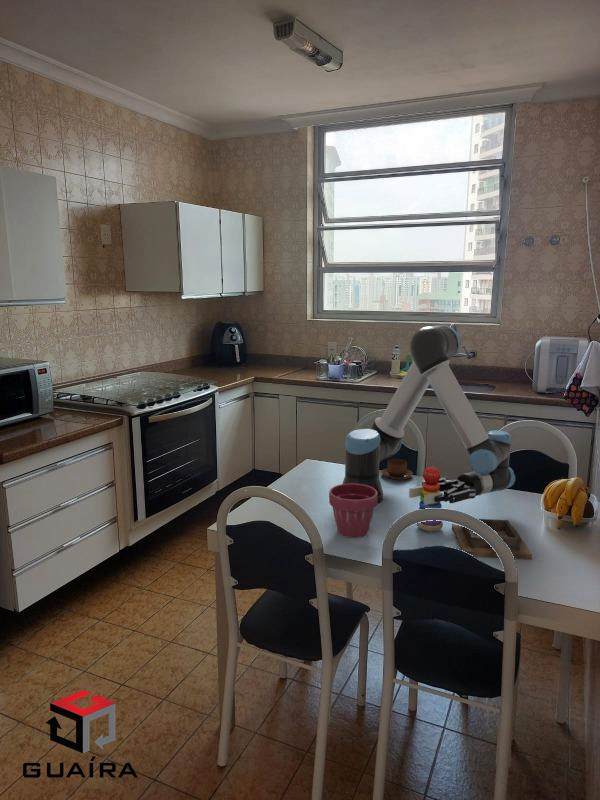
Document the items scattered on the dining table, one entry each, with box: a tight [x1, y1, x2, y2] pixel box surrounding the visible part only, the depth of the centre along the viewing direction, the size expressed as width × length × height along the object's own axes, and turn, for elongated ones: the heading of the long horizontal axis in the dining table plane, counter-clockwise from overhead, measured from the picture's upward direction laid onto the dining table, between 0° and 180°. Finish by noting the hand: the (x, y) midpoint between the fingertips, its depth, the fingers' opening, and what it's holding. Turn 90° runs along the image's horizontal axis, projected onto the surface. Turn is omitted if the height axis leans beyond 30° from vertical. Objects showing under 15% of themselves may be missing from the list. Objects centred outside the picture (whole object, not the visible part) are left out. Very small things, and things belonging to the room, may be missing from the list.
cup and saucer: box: [381, 458, 414, 480], centre depth 215 cm, size 12×12×6 cm
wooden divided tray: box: [451, 518, 533, 560], centre depth 157 cm, size 18×18×4 cm
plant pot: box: [328, 483, 378, 539], centre depth 164 cm, size 14×14×13 cm
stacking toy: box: [415, 466, 444, 532], centre depth 165 cm, size 8×8×19 cm
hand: (417, 496), depth 163 cm, fingers closed on stacking toy, 6 cm apart
